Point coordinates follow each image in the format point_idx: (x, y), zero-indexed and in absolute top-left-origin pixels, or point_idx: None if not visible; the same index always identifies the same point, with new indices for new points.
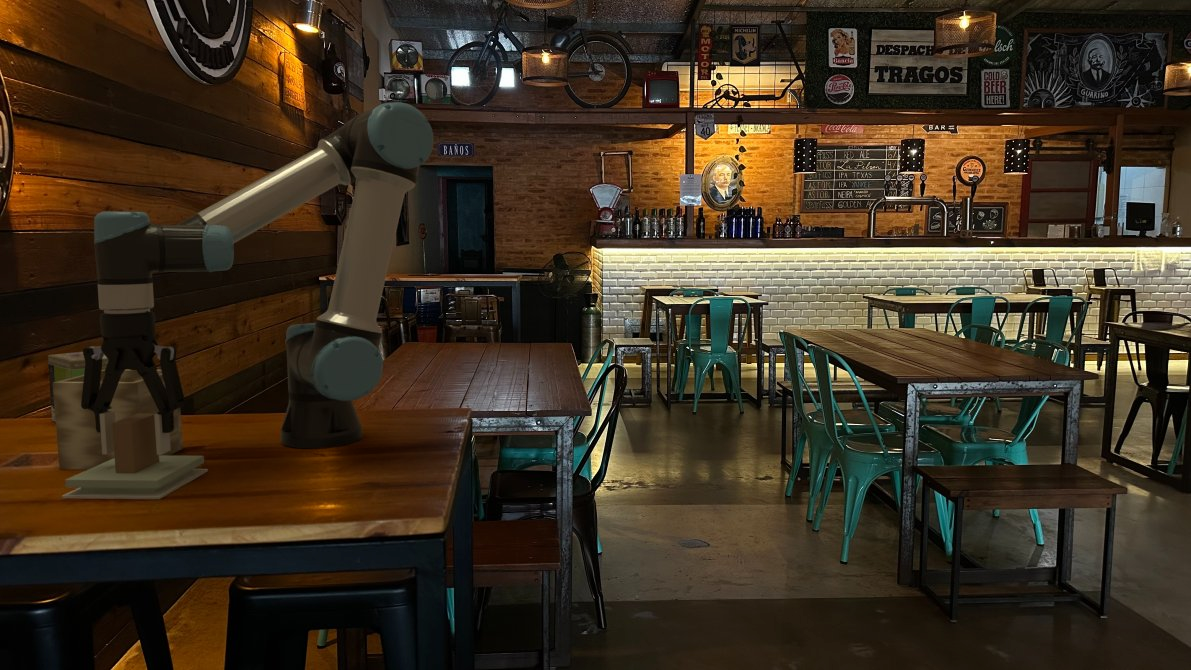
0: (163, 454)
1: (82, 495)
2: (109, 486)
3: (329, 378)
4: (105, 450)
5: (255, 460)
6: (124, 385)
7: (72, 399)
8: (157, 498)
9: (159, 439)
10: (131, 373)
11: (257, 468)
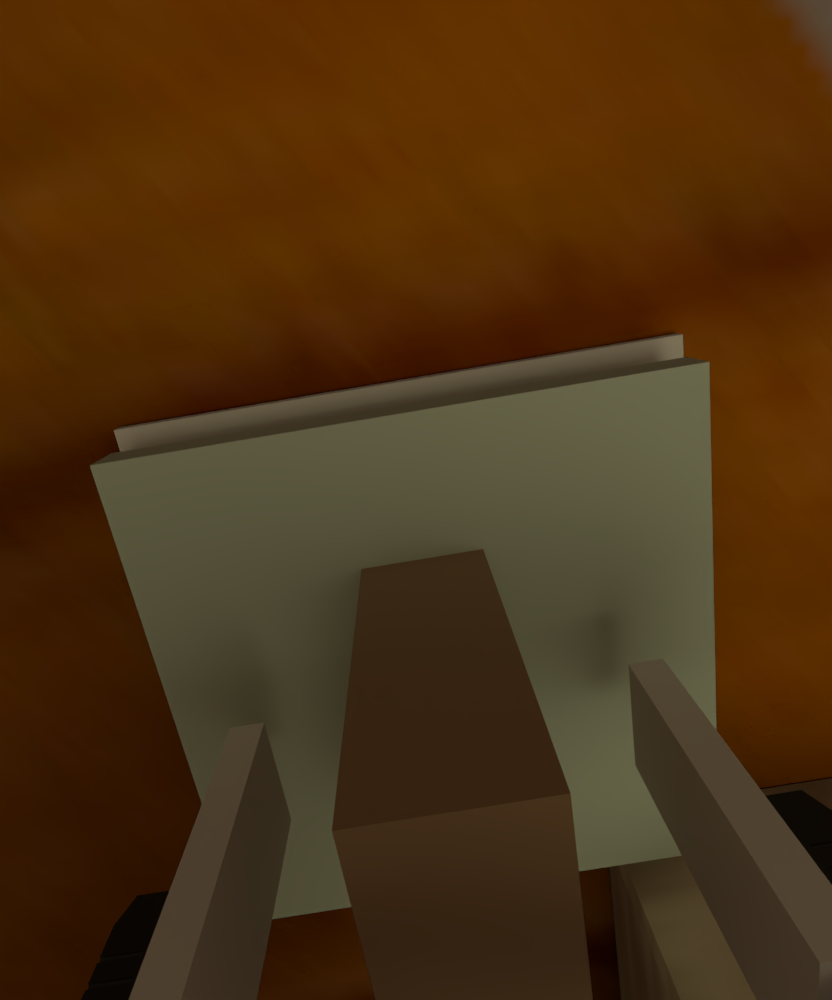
0: (624, 988)
1: (566, 363)
2: (410, 405)
3: None
4: (648, 678)
5: None
6: None
7: None
8: (127, 426)
9: (207, 814)
10: None
11: (56, 934)
